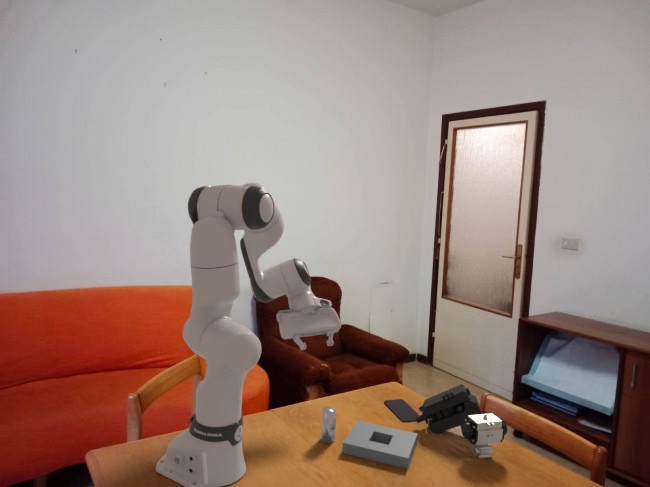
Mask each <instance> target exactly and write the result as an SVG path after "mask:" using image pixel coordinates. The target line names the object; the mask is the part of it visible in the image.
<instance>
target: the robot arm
mask: <svg viewBox="0 0 650 487" xmlns="http://www.w3.org/2000/svg"><path fill="white" fill-rule="evenodd" d="M187 212H188V215H189V218H190V220H191V222H192V227H191V234H190V242H189V244H190V245H189V259H190V262H189V263H190V272H191V288H192V300H191V307H190V308H191V309H190V314H189V318H187V320H186V321H185V323H184V325H183V328H182V338H183V340H184V342H185V343H186V345H187V346H188V348H189V349H190V350H191V351H192V352H193V353H194V354H196V355H198V356H199V357H200V358H202V359H204V360H205V362H206V370H205V371H206V372H205V375H204V379H202V380H201V381H200V382H199V383H198V384H197V386H196V390H195V391H196V392H195V412H194V413H193V414H192V415H191V416H190V417H189V418H188V419H187V420H186V421H185V422H186V423H185V425H186V426H188V425H189V424H190V426H189V427H187V428H186V429H184V430H182V432H180V433H178V434H177V436H175V437H173V439H171V441H170V442H169V444H168V445H167V449H166V452H165V454H163V455H162V457H160V458H159V459H158V461H157V463H156V465H155V472H156V473H158V474H161V475H162V476H164V477H166V478H168V479H169V480H172V481H174V482H176V483H178V484H179V485H181V486H184V487H225V486H228V485H231V484H234V483H235V482H238V480H241V479H242V477H243V476H245V474H246V472H247V464H246V461H245V457H244V451H243V443H242V442H243V441H242V439H243V432H244V431H243V430H244V415H243V413H242V405H243V388H244V383H245V380H246V377H247V374H248V372H249V371H251V370H252V369H253V368H255V366H256V365H257V364H258V362H259V360H260V358H261V354H262V343H261V341H260V339H259V337H258V336H257V335H256V334H255V333H254V332H253V331H252V330H251V329H250V328H249V327H248V326H246V325H243V324H240V323H238V322H236V321H234V320H233V318H232V309H233V304H234V301H235V300H237V299H238V297H239V296H240V293H241V282H240V281H241V280H240V266H239V265H240V264H239V255H238V254H239V253H238V246H237V241H236V237H235V231H244V233H243V236H242V238H240V239H239V247H240V250H241V256H242V259H243V262H244V266H245V269H246V272H247V274H248V278H249V281H250V282H249V283H250V290H251V293H252V295H253V297H254V298H255V299H256V300H257V301H258V302H261V303H264V304H268V303H270V302H272V301H274V300H276V299H277V298H280V297H282V296H286V297H287V300H288V302H287V303H288V307H289V309H285V310H279V311H278V312H277V313H276V314H275V318H276V322H277V324H278V328H279V334H280V337H281V338H282V339H283V340H290V339H293V341H294V343H296V345H297V346H299V350H300V351H304V350H306V349H307V347H308V346H307V343H306V342H303V341H302V339H301V338H303V337H304V338H305V337H314V336H319V335H326V337H328V339H327V340H326V344H327V345H326V346H327V347H332V346H334V344H335V342H334V340H333V338H334V335H335V334H336V333H338V332H339V331H340V329H341V328H342V321H341V319H340V317H339V315H338V313H337V312H336V309H335V308H333V307H332V306H333V304H332V303H333V302H332V301H331V300H330V299H329V300H328V299H324V298H320V297H317V296H315V294H314V293H313V291H312V287H311V284H312V278H311V275H310V272H309V269H308V267H307V264H306V262H304V261H303V260H300V259H298V258H290V259H287V260H285V261H283V262H280V263H278V264H275V265H273V266H271V267H269V268H265V269H261V268H260V264H259V258H261V257H262V256H263V254H265V253H266V252H267V251H268V250H271V248H272V247H274V246H275V245H277V244H278V242H279V241H280V239H281V238H282V235H283V233H284V230H285V224H284V220H283V216H282V214H281V212H280V209H279V208H278V206H277V204H276V202H275V201H274V199H273V196H272V194H270V193H269V191H268V190H267V189H266V188H265V187H264V186H263V185H261V184H260V183H256V182H247V183H245V184H242V185H234V184H219V185H217V184H216V185H204V186H201V187H198V188H197V187H196V188H195V189H194V190H193V191H192V192H191V194H190V196H189V198H188V201H187Z"/></svg>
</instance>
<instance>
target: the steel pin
mask: <svg viewBox="0 0 650 487" xmlns="http://www.w3.org/2000/svg"><path fill="white" fill-rule="evenodd" d="M336 424H337V409H336V407H334V406H324V407H323V408H321V428H320V429H321V433H320V434H321V435H320V441H321V442H322V443H324V444H332V443H334V442H335V440H336Z"/></svg>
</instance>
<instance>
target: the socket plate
mask: <svg viewBox="0 0 650 487" xmlns="http://www.w3.org/2000/svg"><path fill="white" fill-rule="evenodd" d="M417 443H418V433H417V432H413V431H408V430H403V429H398V428H393V427H389V426H384V425H379V424H375V423H370V422H366V421H362V420H357V421H356V422H355V423H354V425H353V427H352V428H351V429H350V431H349V432H348V434H347V436H346V437H345V439H344V440H343V441H342V451H341V453H342V454H345V455H349V456H353V457H358V458H362V459H366V460H369V461H373V462H377V463H382V464H385V465H388V466H389V465H390V466H393V467H398V468H402V469H406V470H409V467H410V463H411V461H412V458H413V456H414V453H415V450H416V447H417Z"/></svg>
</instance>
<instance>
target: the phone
mask: <svg viewBox="0 0 650 487" xmlns="http://www.w3.org/2000/svg"><path fill="white" fill-rule="evenodd" d="M383 404H384V405H385V406H386V407H387V408H388V410H390V411H391V412H392V414H394V415H395V416H396V417H397V418H398V420H400V422H402V423H411V422H412V421H413V422H416V419H415V417H417V416H420V415H421V414H419V413H418V412H417V411H416V410H415V409H413V407H411V406H410V404H408V402H406V401H405V400H404V399H402V398H397V399H395V398H394V399H387V400H384V402H383ZM413 422H412V423H413Z"/></svg>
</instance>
